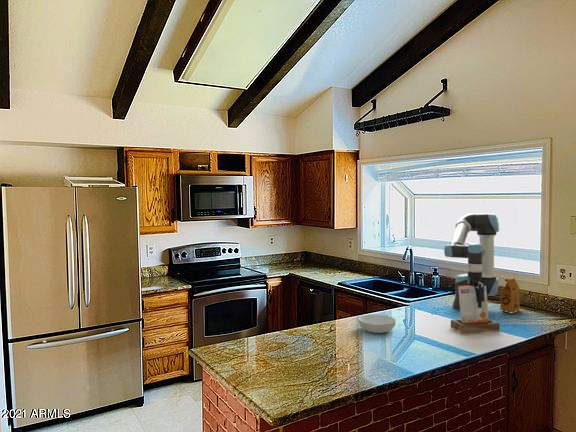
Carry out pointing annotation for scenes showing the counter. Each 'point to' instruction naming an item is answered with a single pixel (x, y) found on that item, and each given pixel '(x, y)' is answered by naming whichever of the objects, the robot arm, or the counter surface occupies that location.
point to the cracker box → (472, 305)
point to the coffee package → (510, 296)
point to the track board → (475, 327)
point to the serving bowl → (376, 323)
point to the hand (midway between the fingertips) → (474, 311)
